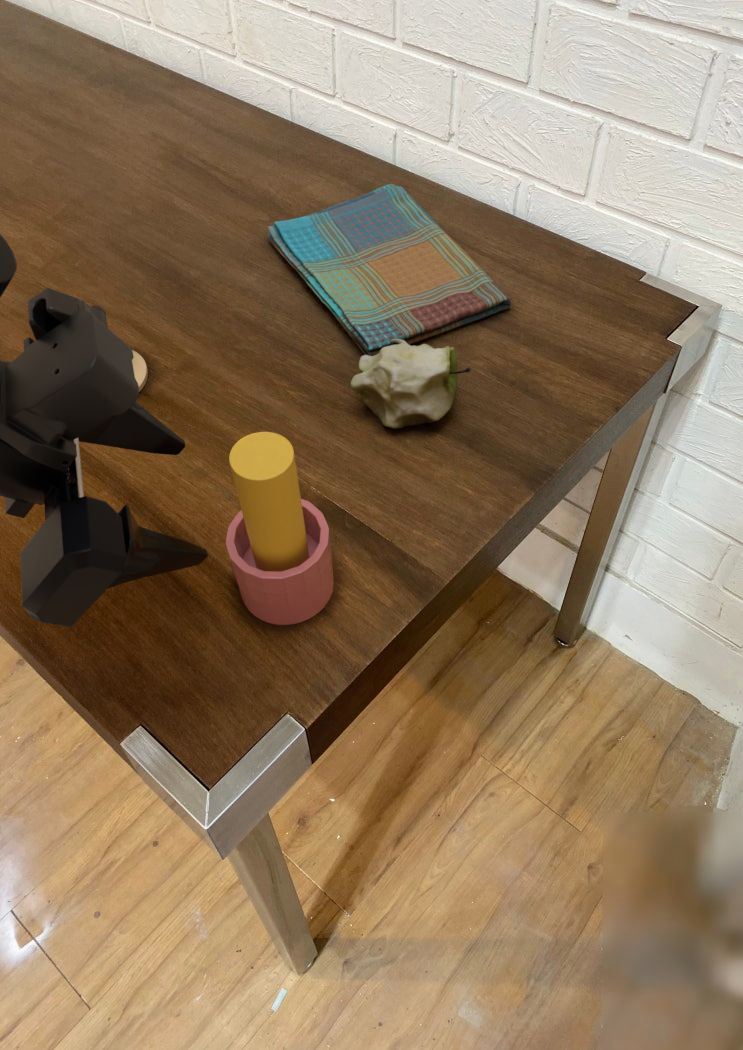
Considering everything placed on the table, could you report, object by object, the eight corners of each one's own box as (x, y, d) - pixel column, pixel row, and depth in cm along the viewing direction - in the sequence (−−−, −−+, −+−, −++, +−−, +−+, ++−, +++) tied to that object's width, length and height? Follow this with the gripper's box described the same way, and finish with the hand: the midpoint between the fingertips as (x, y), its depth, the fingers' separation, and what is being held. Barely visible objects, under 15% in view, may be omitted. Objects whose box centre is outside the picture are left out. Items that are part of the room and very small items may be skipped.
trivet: (69, 418, 71) (66, 414, 70) (58, 363, 75) (55, 358, 75) (155, 395, 72) (154, 391, 72) (139, 342, 77) (138, 337, 76)
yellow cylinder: (264, 592, 56) (238, 487, 46) (249, 550, 58) (221, 441, 49) (317, 575, 57) (302, 468, 47) (300, 534, 59) (283, 424, 49)
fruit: (474, 408, 73) (490, 355, 65) (401, 464, 70) (409, 415, 62) (407, 346, 75) (415, 288, 68) (334, 398, 72) (334, 344, 65)
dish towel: (400, 197, 91) (400, 177, 89) (514, 308, 79) (517, 287, 77) (266, 241, 87) (263, 220, 85) (365, 366, 74) (365, 345, 72)
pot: (254, 638, 57) (241, 591, 52) (230, 562, 61) (215, 512, 56) (346, 607, 59) (342, 559, 53) (316, 534, 63) (310, 483, 57)
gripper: (-2, 447, 30) (306, 541, 40) (-5, 191, 40) (238, 319, 51) (-110, 605, 35) (187, 652, 45) (-88, 341, 46) (149, 429, 56)
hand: (192, 500), depth 49 cm, fingers open, 9 cm apart
